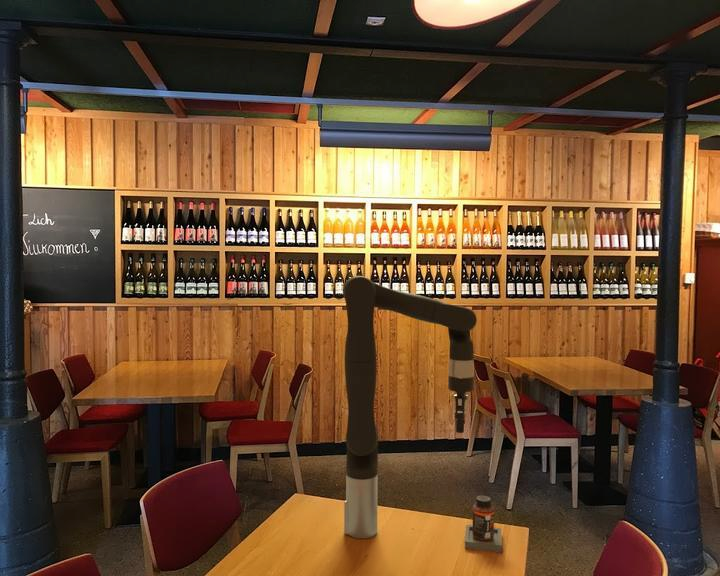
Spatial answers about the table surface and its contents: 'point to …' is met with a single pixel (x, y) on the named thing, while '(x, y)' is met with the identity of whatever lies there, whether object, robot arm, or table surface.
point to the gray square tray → (483, 545)
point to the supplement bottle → (483, 519)
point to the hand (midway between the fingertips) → (460, 428)
